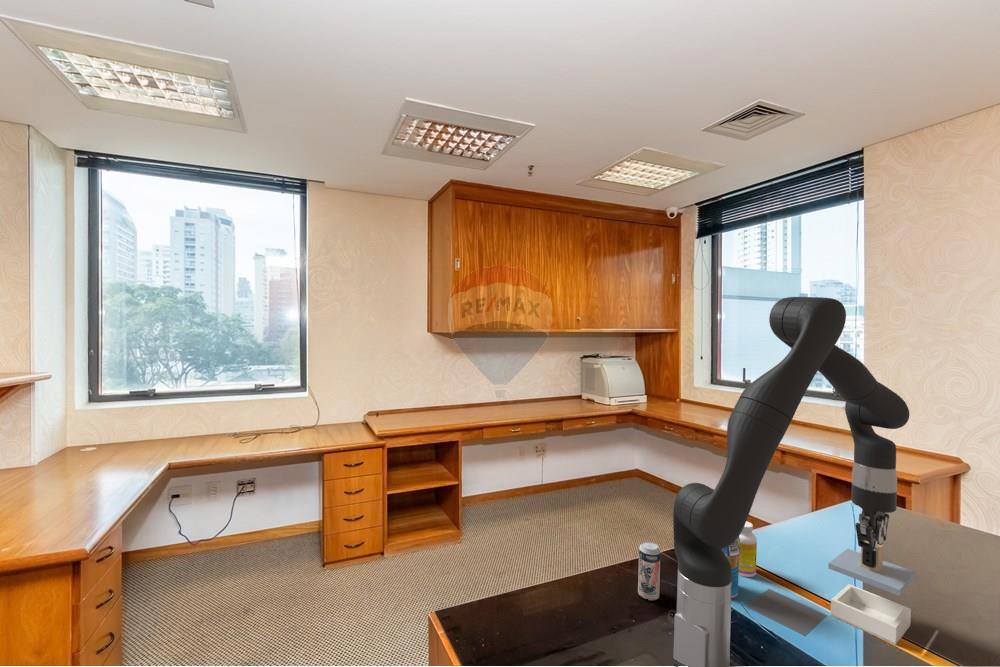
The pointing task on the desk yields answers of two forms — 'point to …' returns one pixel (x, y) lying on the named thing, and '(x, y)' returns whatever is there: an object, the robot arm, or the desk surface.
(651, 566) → the beer can
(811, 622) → the mat
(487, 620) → the desk surface
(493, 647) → the desk surface
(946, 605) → the desk surface
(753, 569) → the supplement bottle
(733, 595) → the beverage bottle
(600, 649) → the desk surface
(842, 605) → the white rectangular open box
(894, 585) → the lid
